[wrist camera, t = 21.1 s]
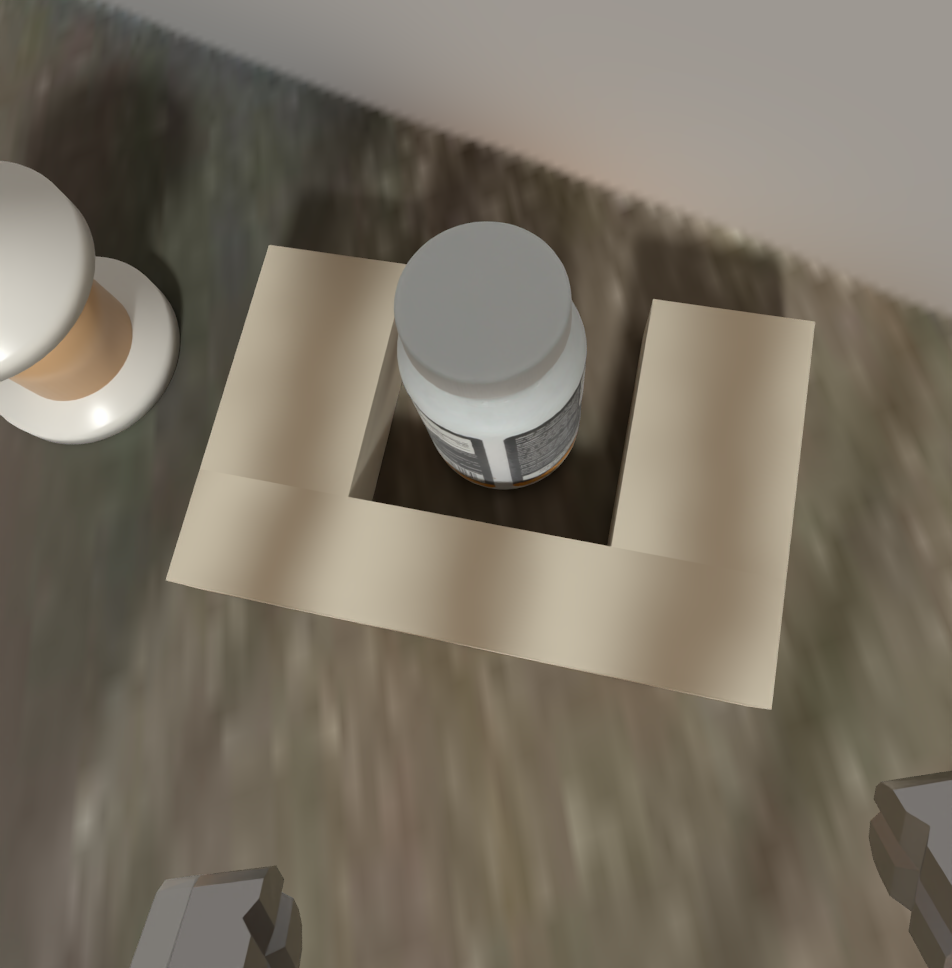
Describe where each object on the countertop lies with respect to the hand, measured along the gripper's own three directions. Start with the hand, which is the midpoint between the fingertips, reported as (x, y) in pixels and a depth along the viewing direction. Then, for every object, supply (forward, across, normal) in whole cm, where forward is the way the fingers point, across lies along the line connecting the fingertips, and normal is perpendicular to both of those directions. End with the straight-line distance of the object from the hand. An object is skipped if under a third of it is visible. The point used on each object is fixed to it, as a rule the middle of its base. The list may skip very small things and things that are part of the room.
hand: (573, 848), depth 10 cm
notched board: (+18, +1, +4) cm, 19 cm away
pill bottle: (+20, 0, +3) cm, 20 cm away
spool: (+24, +17, -1) cm, 29 cm away
